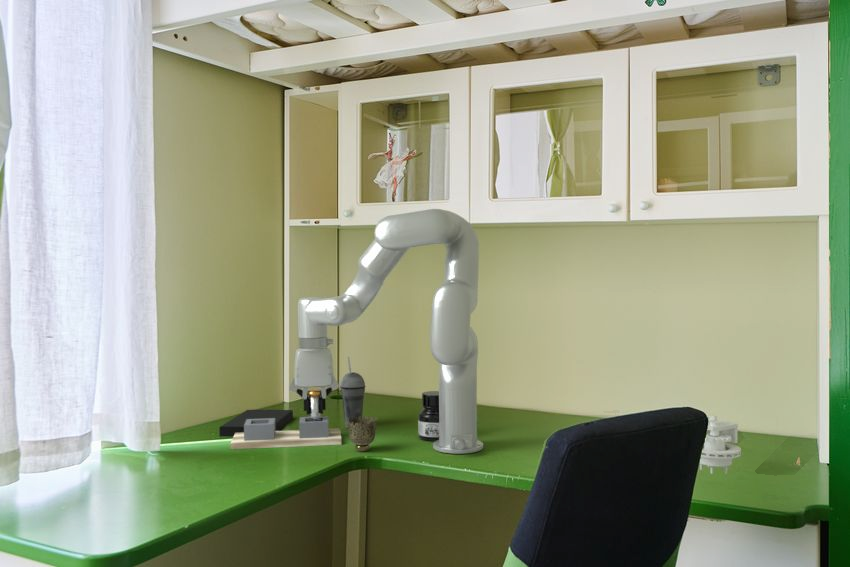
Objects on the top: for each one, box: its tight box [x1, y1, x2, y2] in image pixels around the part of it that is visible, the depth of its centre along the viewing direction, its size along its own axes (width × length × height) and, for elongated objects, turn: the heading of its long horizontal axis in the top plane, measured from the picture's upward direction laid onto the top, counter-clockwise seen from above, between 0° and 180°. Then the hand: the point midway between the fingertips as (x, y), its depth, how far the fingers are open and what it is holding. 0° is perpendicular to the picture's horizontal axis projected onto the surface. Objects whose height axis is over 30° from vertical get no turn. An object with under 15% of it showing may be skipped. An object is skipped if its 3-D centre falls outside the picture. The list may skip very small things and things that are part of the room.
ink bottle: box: [417, 390, 439, 442], centre depth 205 cm, size 10×9×12 cm
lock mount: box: [298, 415, 329, 438], centre depth 203 cm, size 8×8×4 cm
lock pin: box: [307, 389, 322, 422], centre depth 203 cm, size 4×4×11 cm
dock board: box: [229, 428, 342, 450], centre depth 202 cm, size 12×28×2 cm, turn 98°
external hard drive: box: [219, 409, 294, 437], centre depth 220 cm, size 14×23×3 cm, turn 175°
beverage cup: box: [339, 356, 366, 429], centre depth 218 cm, size 7×7×20 cm
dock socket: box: [244, 418, 275, 441], centre depth 201 cm, size 8×8×4 cm
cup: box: [347, 415, 378, 453], centre depth 192 cm, size 8×7×8 cm
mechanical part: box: [699, 415, 742, 475], centre depth 172 cm, size 11×12×12 cm
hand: (314, 412), depth 203 cm, fingers closed on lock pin, 3 cm apart
